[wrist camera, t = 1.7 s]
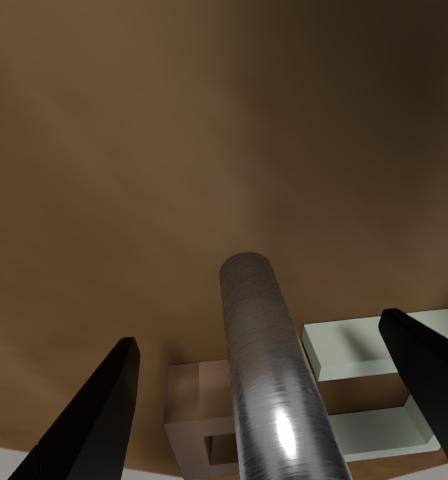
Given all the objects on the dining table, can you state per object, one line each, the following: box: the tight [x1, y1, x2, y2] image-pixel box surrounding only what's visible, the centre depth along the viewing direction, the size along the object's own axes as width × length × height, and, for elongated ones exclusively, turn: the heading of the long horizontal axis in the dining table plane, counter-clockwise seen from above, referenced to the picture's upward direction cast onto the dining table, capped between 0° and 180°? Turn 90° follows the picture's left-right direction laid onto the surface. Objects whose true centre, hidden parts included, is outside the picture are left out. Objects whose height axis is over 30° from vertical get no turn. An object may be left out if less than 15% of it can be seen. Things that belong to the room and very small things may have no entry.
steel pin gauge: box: [219, 252, 353, 480], centre depth 8 cm, size 3×3×9 cm
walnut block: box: [163, 359, 240, 480], centre depth 16 cm, size 7×7×3 cm
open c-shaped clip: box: [302, 309, 448, 462], centre depth 16 cm, size 10×11×2 cm
